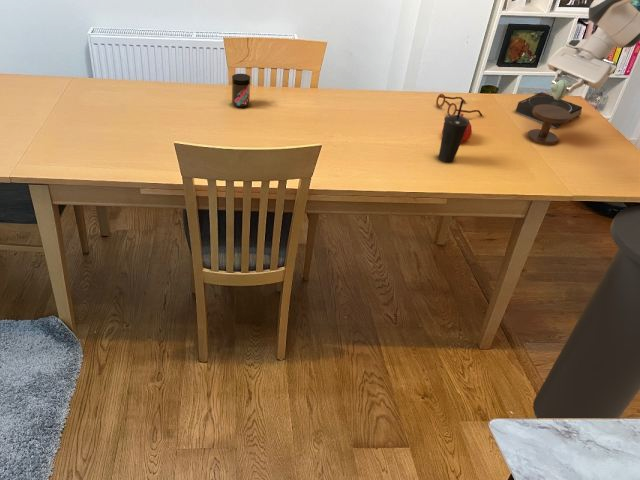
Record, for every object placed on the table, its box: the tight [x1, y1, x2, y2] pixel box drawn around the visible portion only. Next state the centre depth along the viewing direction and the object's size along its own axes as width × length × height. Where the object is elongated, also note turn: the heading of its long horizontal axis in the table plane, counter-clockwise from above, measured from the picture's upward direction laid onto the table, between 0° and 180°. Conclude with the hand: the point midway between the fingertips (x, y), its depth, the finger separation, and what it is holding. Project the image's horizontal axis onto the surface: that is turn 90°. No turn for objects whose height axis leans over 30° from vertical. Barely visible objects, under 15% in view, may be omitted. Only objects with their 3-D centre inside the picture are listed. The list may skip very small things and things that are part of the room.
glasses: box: [435, 93, 483, 117], centre depth 219 cm, size 13×13×5 cm
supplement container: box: [231, 73, 251, 109], centre depth 214 cm, size 7×7×10 cm
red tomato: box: [441, 113, 473, 143], centre depth 200 cm, size 10×10×9 cm
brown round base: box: [526, 104, 571, 146], centre depth 202 cm, size 12×12×10 cm
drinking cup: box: [438, 99, 470, 164], centre depth 185 cm, size 8×8×20 cm
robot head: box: [549, 79, 572, 100], centre depth 194 cm, size 8×4×7 cm, turn 88°
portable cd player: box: [514, 91, 583, 129], centre depth 219 cm, size 16×17×4 cm
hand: (560, 87), depth 193 cm, fingers closed on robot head, 4 cm apart
